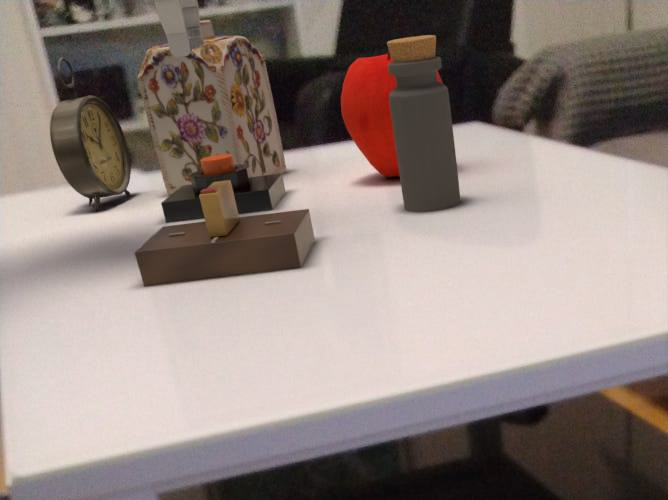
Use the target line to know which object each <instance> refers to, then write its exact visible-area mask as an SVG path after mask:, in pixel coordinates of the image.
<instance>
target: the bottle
mask: <svg viewBox="0 0 668 500" xmlns="http://www.w3.org/2000/svg"><path fill="white" fill-rule="evenodd" d="M386 46H387V49H388V48H389V51H390V55H391V58H392V61H393V62H391V63H389V64H388V69H389V74H390V75H392V76H395V77H396V83H397V86H396V88H394V89H393V90H392V91H391V93H390V94H389V102H390V110H391V117H392V124H393V132H394V139H395V146H396V153H397V160H398V167H399V174H400V176H399V180H400V186H401V188H400V189H401V194H402V200H403V206H404V210H405V211H406V212H409V213H428V212H429V213H430V212H436V211H443V210H448V209H451V208H454V207H456V206H459V205H460V204H461V191H460V182H459V171H458V164H457V155H456V154H457V153H456V146H455V138H454V128H453V119H452V111H451V102H450V95H449V89H448V86H447V85H445V84H444V83H443V82H442V83H443V84H442V83H441V82H439V81H438V80H437V71H439V70H440V69H442V67H443V66H442V58H441V56H437V55H436V47H437V36H436V35H435V34H427V35H426V34H425V35H416V36H409V37H402V38H397V39H391V40H388V41H387V42H386Z"/></svg>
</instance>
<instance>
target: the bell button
mask: <svg viewBox="0 0 668 500" xmlns="http://www.w3.org/2000/svg"><path fill="white" fill-rule="evenodd" d="M200 161H201V165H202V169H203V174H204V175H208V174H218V173H224V172H229V171H232V170H235V169H236V168H235V164H234V160H233V155H231V154H222V155H214V156H209V157H205V158H202V159H201V160H200Z"/></svg>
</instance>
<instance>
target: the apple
mask: <svg viewBox="0 0 668 500" xmlns="http://www.w3.org/2000/svg"><path fill="white" fill-rule="evenodd" d="M391 62H393V61H392V58H391V55H390V51H389V48H388V47H387V53H386V54H382V55H381V54H380V55H375V56H369V57H358V58H356V59H355V61H353V62H352V63H351V64H350V65H349V67H348V68H347V72H346V74H345V77H344V80H343V84H342V89H341V90H342V91H341V94H340V95H341V96H340V108H341V117H342V120H343V123H344V125H345V128H346V131H347V132H348V134H349V135H350V138H351V139H352V140H353V142H354V144H355V145H356V148H358V150H359V151H360V153H362V155H363V156H364V158H365V159H366V160H367V161H368V163H369V164H370V166H372V167H373V168H374V170H376V171H377V172H378V173H379V174H380V175H382V176H384V177H385V178H390V177H400V174H399V167H398V160H397V153H396V146H395V139H394V132H393V124H392V117H391V110H390V102H389V94H390V93H391V91H392V90H393V89H394V88H396V86H397V83H396V77H395V76H392V75H390V74H389V69H388V64H389V63H391ZM437 80H438V81H439V82H441V83H442V84H444V83H443V80H442V78H441V76H440V73H439V70H437Z"/></svg>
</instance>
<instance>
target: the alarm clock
mask: <svg viewBox="0 0 668 500" xmlns="http://www.w3.org/2000/svg"><path fill="white" fill-rule="evenodd" d="M63 61H64V63H65V64H66V65H67V67H68V69H69V71H70V75H71V83H68V84H67V83H66V82H65V81H64V78H63V75H62V68H61V67H62V62H63ZM57 71H58V72H57V73H58V77H59V79H60V82H61V84H62V85H63V86H64V88H65V89H66V90H67V92H68V97H69V99H66V100H63V101H60V102H59V103H58V104H57V105H55V107H54V109H53V111H52V112H51V115H50V121H49V137H50V143H51V149H52V152H53V155H54V159H55V162H56V165H57V166H58V168H59V170H60V171H61V172H60V173H61V174H62V176H63V177H64V179H65V181H66V182H67V183H68V184H69V186H70V187H71V189H73V190H74V191H75V192H77V193H78V194H80V196H83V197H84V198H87V199H88V206H89V207H91V205H92V203H93V202H94V205H95V207H94V212H95V213H97V212H100V211H101V208H100V204H101V199H102V198H108V197H112V196H120V195H122V194H123V193H124V195H125V196H127V197H129V196H131V192H130V191H129V190H128V187H129V184H130V180H131V173H132V164H131V163H132V162H131V156H130V151H129V146H128V143H127V139H126V137H125V133H124V130H123V128H122V126H121V124H120V122H119V120H118V118H117V117H116V114H115V113H114V111H113V110H112V109H111V108H110V106H109V105H108V104H107V103H106V102H105V101H104V100H102V99H101V98H100V97H98V96H95V95H90V94H89V95H86V96H82V97H79V96H78V94H77V92H76V91H75V90H76V89H75V81H76V80H75V75H74V71H73V68H72V66H71V63H70V62H69V61H68V59H67V58H65V57H64V56H62V57H60V58H59V59H58V61H57Z"/></svg>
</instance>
